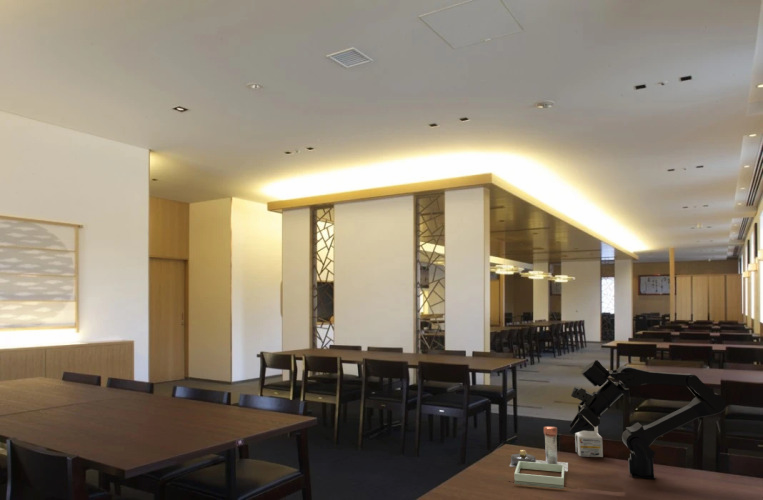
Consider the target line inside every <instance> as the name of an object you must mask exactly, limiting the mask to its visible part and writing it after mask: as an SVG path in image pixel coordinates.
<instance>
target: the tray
mask: <svg viewBox="0 0 763 500" xmlns="http://www.w3.org/2000/svg"><path fill="white" fill-rule="evenodd" d="M521 469H523V470H526V469H527V470H537V471H548V472H557V473H561V476H552V475H551V476H550V475H540V474H538V475H537V474H529V473H520V471H521ZM513 474H514V476H513V477H514V485H522V486H531V487H532V486H533V487H541V488H551V489H561V490H564V489H565V471H564V465H559V464H548V463H536V462H524V461H518V464H517V467H515V471H514V473H513Z"/></svg>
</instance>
